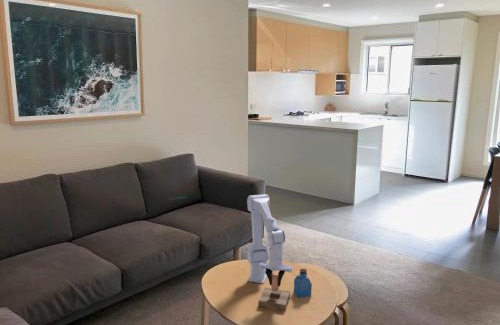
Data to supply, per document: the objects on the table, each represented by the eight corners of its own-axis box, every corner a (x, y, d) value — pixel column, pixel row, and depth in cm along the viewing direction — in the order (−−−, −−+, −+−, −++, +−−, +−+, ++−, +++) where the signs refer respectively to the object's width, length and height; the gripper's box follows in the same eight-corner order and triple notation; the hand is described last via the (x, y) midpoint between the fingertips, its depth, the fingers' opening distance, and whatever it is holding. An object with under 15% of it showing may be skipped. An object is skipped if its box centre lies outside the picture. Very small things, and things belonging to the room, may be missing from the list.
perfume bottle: (298, 298, 184) (299, 274, 182) (293, 291, 190) (294, 268, 188) (311, 296, 186) (312, 272, 184) (305, 289, 192) (306, 266, 189)
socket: (264, 293, 188) (265, 287, 187) (290, 297, 185) (290, 291, 184) (258, 307, 176) (258, 300, 176) (285, 311, 173) (285, 305, 173)
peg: (272, 286, 181) (272, 272, 180) (279, 287, 180) (279, 273, 179) (270, 290, 178) (271, 275, 177) (277, 291, 177) (278, 276, 176)
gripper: (257, 258, 174) (257, 286, 177) (290, 262, 170) (289, 291, 173) (261, 251, 181) (261, 279, 184) (293, 255, 177) (292, 283, 180)
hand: (275, 284), depth 179 cm, fingers closed on peg, 3 cm apart
